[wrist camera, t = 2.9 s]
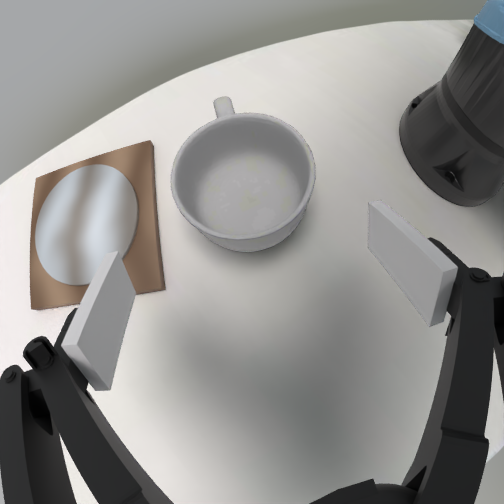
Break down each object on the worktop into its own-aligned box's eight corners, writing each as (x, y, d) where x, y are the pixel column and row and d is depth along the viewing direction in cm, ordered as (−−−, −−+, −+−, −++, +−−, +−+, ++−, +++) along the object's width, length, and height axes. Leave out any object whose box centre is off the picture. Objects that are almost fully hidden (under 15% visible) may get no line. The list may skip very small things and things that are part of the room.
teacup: (309, 258, 28) (325, 232, 21) (191, 266, 28) (165, 242, 21) (292, 132, 32) (299, 81, 24) (192, 139, 32) (175, 91, 24)
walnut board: (153, 145, 32) (147, 136, 30) (165, 289, 28) (158, 286, 26) (41, 182, 32) (32, 175, 30) (37, 310, 28) (26, 308, 26)
